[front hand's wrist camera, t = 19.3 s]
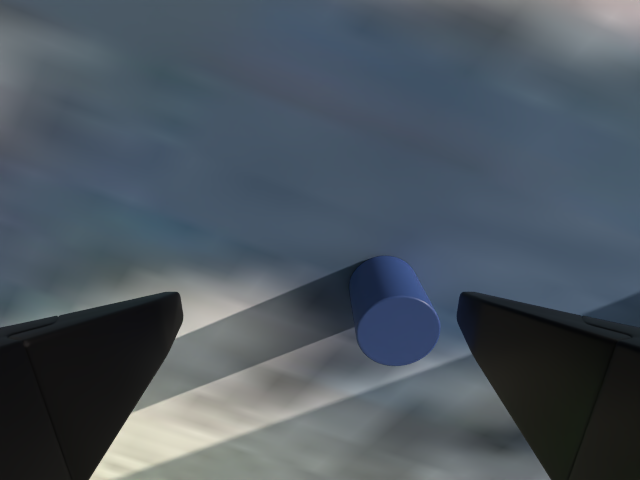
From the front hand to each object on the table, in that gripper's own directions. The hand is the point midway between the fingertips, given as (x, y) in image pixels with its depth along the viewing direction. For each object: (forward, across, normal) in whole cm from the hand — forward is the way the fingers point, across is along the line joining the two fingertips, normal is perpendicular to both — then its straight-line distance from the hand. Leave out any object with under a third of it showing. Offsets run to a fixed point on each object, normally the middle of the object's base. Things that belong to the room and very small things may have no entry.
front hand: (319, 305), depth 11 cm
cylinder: (+8, +4, -3) cm, 9 cm away
